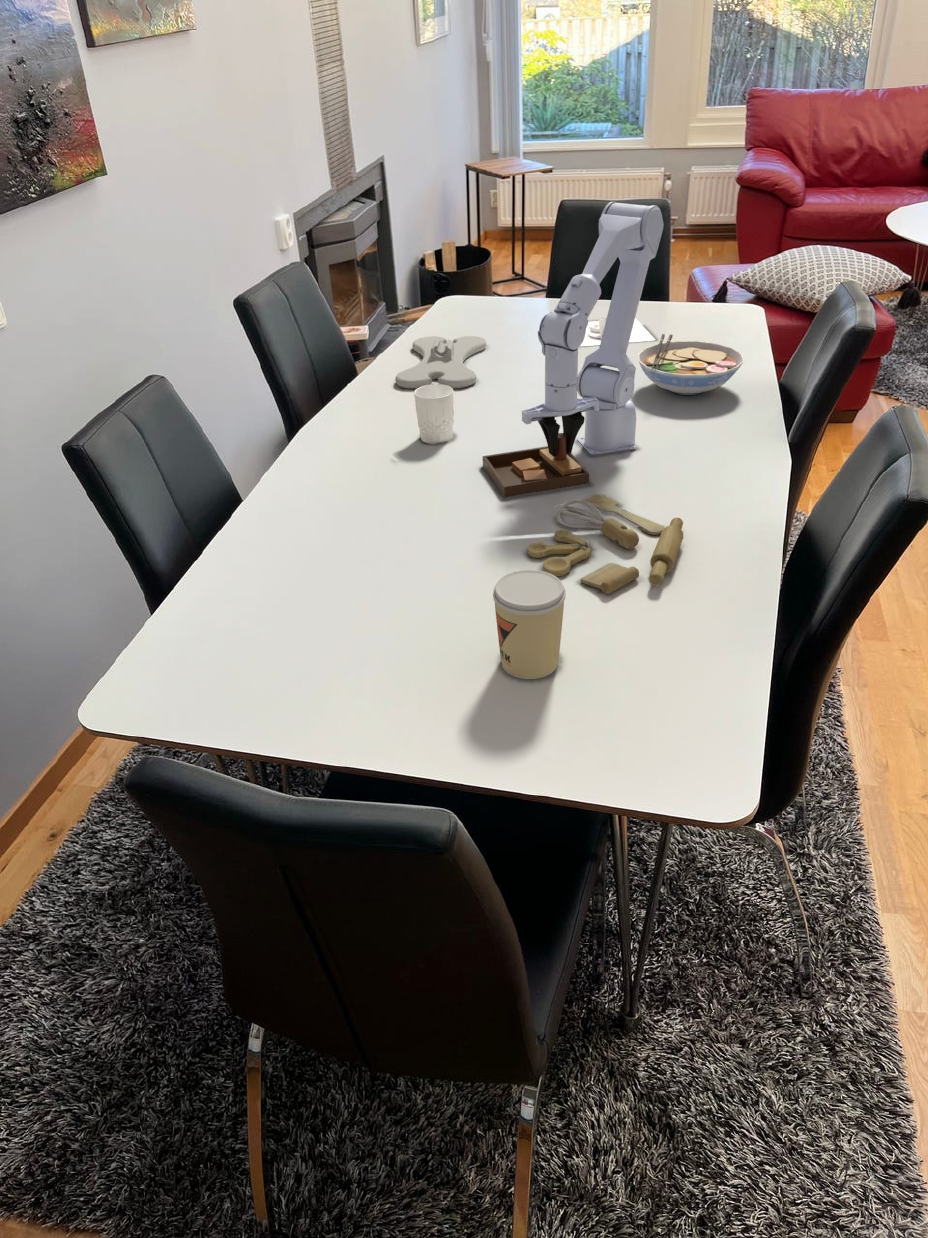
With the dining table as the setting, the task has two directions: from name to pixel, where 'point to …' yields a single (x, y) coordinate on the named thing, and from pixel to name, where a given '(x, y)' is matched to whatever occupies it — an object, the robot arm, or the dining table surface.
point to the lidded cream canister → (529, 622)
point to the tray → (513, 481)
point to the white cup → (435, 412)
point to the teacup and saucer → (597, 328)
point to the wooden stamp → (560, 459)
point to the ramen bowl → (689, 365)
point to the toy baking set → (613, 574)
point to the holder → (442, 362)
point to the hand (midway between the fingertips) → (560, 452)
